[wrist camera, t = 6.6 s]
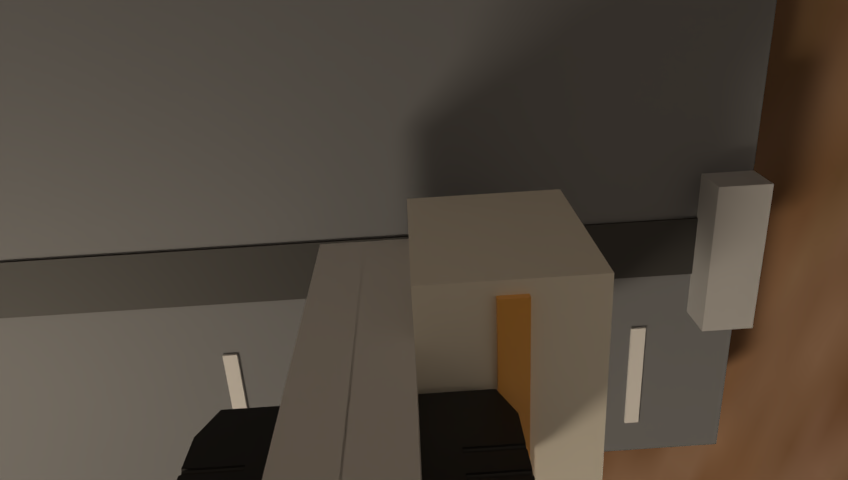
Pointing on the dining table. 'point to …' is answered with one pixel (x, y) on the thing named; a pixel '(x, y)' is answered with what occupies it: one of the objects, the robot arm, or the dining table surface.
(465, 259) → the fader knob
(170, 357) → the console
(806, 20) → the dining table surface
